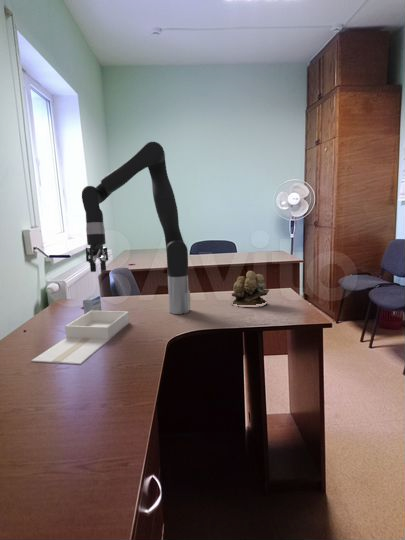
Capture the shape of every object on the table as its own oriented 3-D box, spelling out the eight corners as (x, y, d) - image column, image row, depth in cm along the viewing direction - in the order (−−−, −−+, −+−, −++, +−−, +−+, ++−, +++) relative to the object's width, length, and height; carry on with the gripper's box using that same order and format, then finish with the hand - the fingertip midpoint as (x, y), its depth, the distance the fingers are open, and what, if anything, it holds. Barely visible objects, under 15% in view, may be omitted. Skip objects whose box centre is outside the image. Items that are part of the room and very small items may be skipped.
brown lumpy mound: (266, 301, 167) (267, 267, 164) (270, 308, 156) (271, 272, 152) (231, 301, 168) (230, 268, 165) (232, 308, 156) (232, 273, 153)
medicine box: (93, 319, 147) (91, 300, 146) (84, 318, 148) (82, 300, 147) (102, 313, 155) (100, 295, 153) (93, 313, 156) (91, 295, 154)
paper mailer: (129, 322, 141) (128, 311, 140) (80, 364, 103) (78, 349, 103) (92, 321, 144) (91, 310, 143) (31, 361, 107) (29, 346, 106)
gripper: (95, 232, 135) (98, 271, 136) (111, 234, 149) (114, 270, 150) (78, 233, 137) (81, 272, 137) (96, 235, 150) (99, 271, 151)
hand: (98, 271), depth 143 cm, fingers open, 8 cm apart
